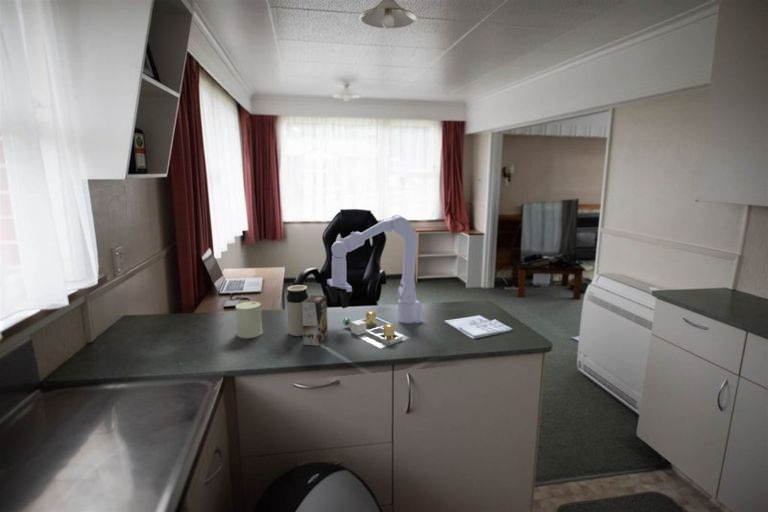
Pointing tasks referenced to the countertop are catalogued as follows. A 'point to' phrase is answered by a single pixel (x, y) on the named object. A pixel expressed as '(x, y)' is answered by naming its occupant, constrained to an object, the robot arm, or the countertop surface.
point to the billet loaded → (389, 331)
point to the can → (249, 319)
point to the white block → (358, 327)
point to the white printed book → (478, 326)
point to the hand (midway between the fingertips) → (339, 305)
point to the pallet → (381, 337)
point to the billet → (370, 318)
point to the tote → (377, 319)
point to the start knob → (346, 322)
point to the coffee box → (314, 319)
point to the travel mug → (296, 308)
